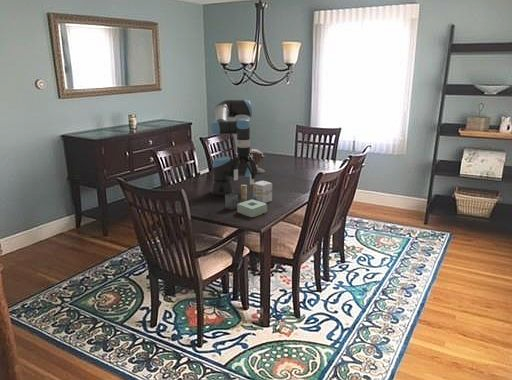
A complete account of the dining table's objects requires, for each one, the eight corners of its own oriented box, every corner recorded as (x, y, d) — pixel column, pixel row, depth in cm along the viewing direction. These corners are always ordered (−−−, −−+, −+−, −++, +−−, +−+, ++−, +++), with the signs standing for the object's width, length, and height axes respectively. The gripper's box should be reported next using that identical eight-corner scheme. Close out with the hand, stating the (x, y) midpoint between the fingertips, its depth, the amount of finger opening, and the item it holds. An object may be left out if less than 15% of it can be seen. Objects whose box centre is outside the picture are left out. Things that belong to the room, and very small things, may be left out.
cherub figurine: (243, 168, 331) (243, 146, 326) (265, 168, 331) (265, 146, 326) (242, 173, 314) (241, 151, 309) (265, 173, 314) (265, 151, 309)
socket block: (237, 212, 231) (237, 204, 230) (252, 207, 239) (252, 199, 238) (252, 217, 223) (252, 209, 222) (267, 212, 231) (267, 203, 230)
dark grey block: (225, 207, 239) (224, 195, 236) (232, 205, 242) (232, 192, 240) (231, 210, 235) (231, 197, 233) (238, 207, 239) (238, 194, 236)
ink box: (252, 200, 251) (252, 182, 248) (262, 197, 257) (262, 180, 253) (262, 204, 245) (262, 185, 242) (272, 200, 251) (272, 182, 247)
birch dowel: (239, 204, 244) (239, 185, 241) (244, 203, 247) (244, 184, 243) (244, 206, 242) (243, 186, 238) (248, 204, 244) (248, 185, 241)
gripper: (224, 144, 240) (225, 179, 246) (254, 150, 223) (254, 187, 229) (233, 143, 245) (234, 177, 251) (263, 148, 228) (263, 184, 234)
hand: (243, 182), depth 240 cm, fingers open, 13 cm apart
